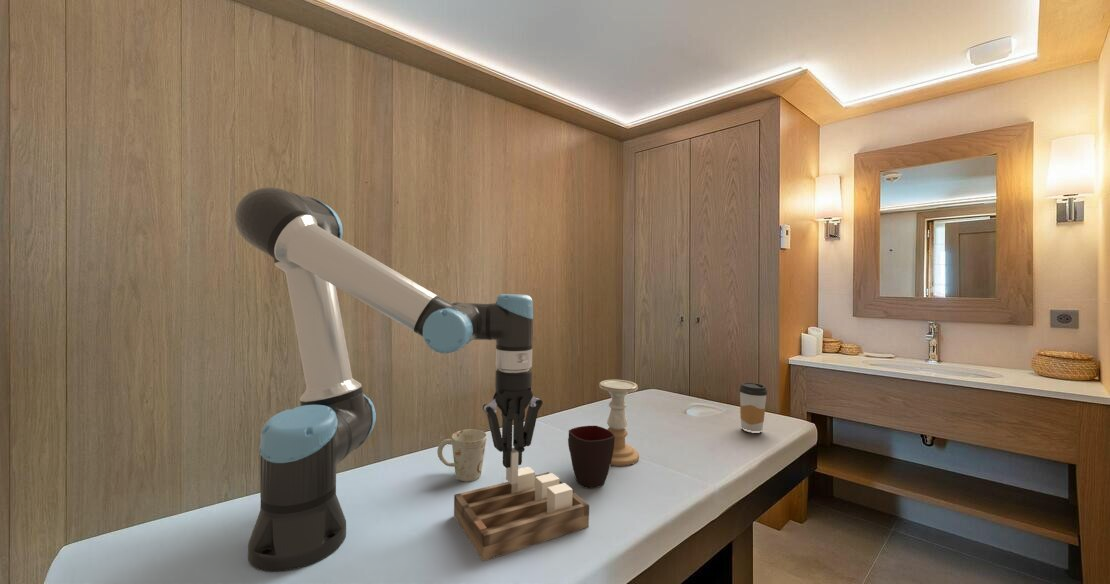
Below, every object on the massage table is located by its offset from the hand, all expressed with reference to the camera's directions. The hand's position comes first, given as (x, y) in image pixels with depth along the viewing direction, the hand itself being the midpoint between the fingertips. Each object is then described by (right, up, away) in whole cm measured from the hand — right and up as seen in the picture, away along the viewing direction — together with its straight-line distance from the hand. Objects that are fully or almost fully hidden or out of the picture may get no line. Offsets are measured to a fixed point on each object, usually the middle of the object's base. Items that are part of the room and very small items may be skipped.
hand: (511, 480), depth 92 cm
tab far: (+2, -4, +2) cm, 5 cm away
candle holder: (+26, -6, +29) cm, 39 cm away
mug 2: (+16, -6, +15) cm, 23 cm away
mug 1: (-14, -5, +15) cm, 22 cm away
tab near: (+10, -4, -5) cm, 12 cm away
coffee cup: (+73, -6, +52) cm, 90 cm away
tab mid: (+7, -4, -1) cm, 8 cm away
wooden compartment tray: (+2, -6, -4) cm, 8 cm away
